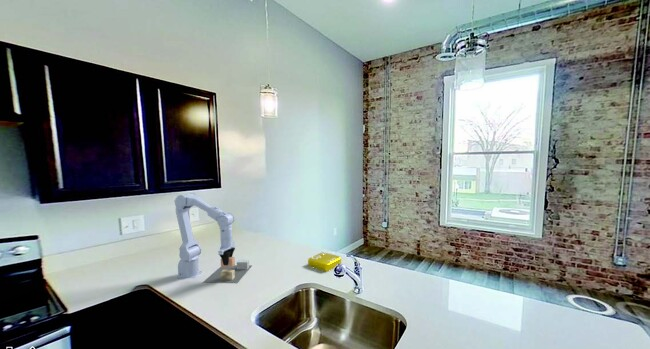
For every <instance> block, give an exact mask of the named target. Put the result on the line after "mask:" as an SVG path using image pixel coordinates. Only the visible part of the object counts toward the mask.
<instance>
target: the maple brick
mask: <svg viewBox="0 0 650 349" xmlns="http://www.w3.org/2000/svg"><path fill="white" fill-rule="evenodd" d="M234 278H235V270H222V271H221V280H233V279H234Z"/></svg>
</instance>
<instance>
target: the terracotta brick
mask: <svg viewBox="0 0 650 349" xmlns="http://www.w3.org/2000/svg"><path fill="white" fill-rule="evenodd" d="M235 262H236V261H235V256H232V257H229V263H228V265H224V264H223V261H222V258H221V257H220V267H233V266H234V265H235V264H236V263H235Z"/></svg>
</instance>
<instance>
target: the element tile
mask: <svg viewBox="0 0 650 349" xmlns="http://www.w3.org/2000/svg"><path fill="white" fill-rule="evenodd" d="M337 264H341V265H342V257H341V256H339V255H336V254H335V255H334V254H331V253H328V252H324V251H321V252H319V253H318V254H315V255H314V256H311V257H309V258H308V259H307V265H308V267H309V266H310V267H309V268H312V267H314V268H313V269H316V268H317V269H316V270H319V269H320V271H322V270H323V271H322V272H326V271H327V272H330V271H332V270H333V269H335V268H336V267H335V266H336V265H337ZM334 267H335V268H334ZM331 269H332V270H331ZM329 270H330V271H329Z"/></svg>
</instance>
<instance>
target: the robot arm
mask: <svg viewBox="0 0 650 349" xmlns="http://www.w3.org/2000/svg"><path fill="white" fill-rule="evenodd" d="M174 204H175V205H174V206H175V214H176V219H177V222H178V228H179V233H180V237H181V240H182V243H181V244H180V246H179V255H178V256H179V259H180V260H179V261H178V264H177V278H176V279H195V278H197V277H198V276H199V275H200V274H201V273H203V271H202V270H201V271H200V269H199V267H200V265H199V258H200V255H201V253H202V248H201V246H200V245H199V242H198V240H195V238H194V233H193V229H192V223H191V220H190V216H189V211H190V209H191V208H192V207H194V206H195V207H196V208H199V209H200V210H203V211H204V212H206V213H207V216H208V217H210V218H211V219H213V220H214V221H216V223H217V226H218V227H219V230H220V231H219V233H220V248H219V249H218V251H217V253H218V254H217V255H218V256H220V259H221V258H222V261H223V264H224V265H228V263H229V257H233V255H234V253H235V250H236V245H235V241H233V223H234V221H235V216H234V215H233V214H232V213H231V212H226V211H223V210H222V209H220V207H219V206H211V205H210V204H209V203H207V202H206V201H205V200H204V199H202V198H201V197H200V196H199V195H198V194H196V193H195V192H191V193H188V194H187V193H186V194H179V195H177V196H176V198H175V199H174Z"/></svg>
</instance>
